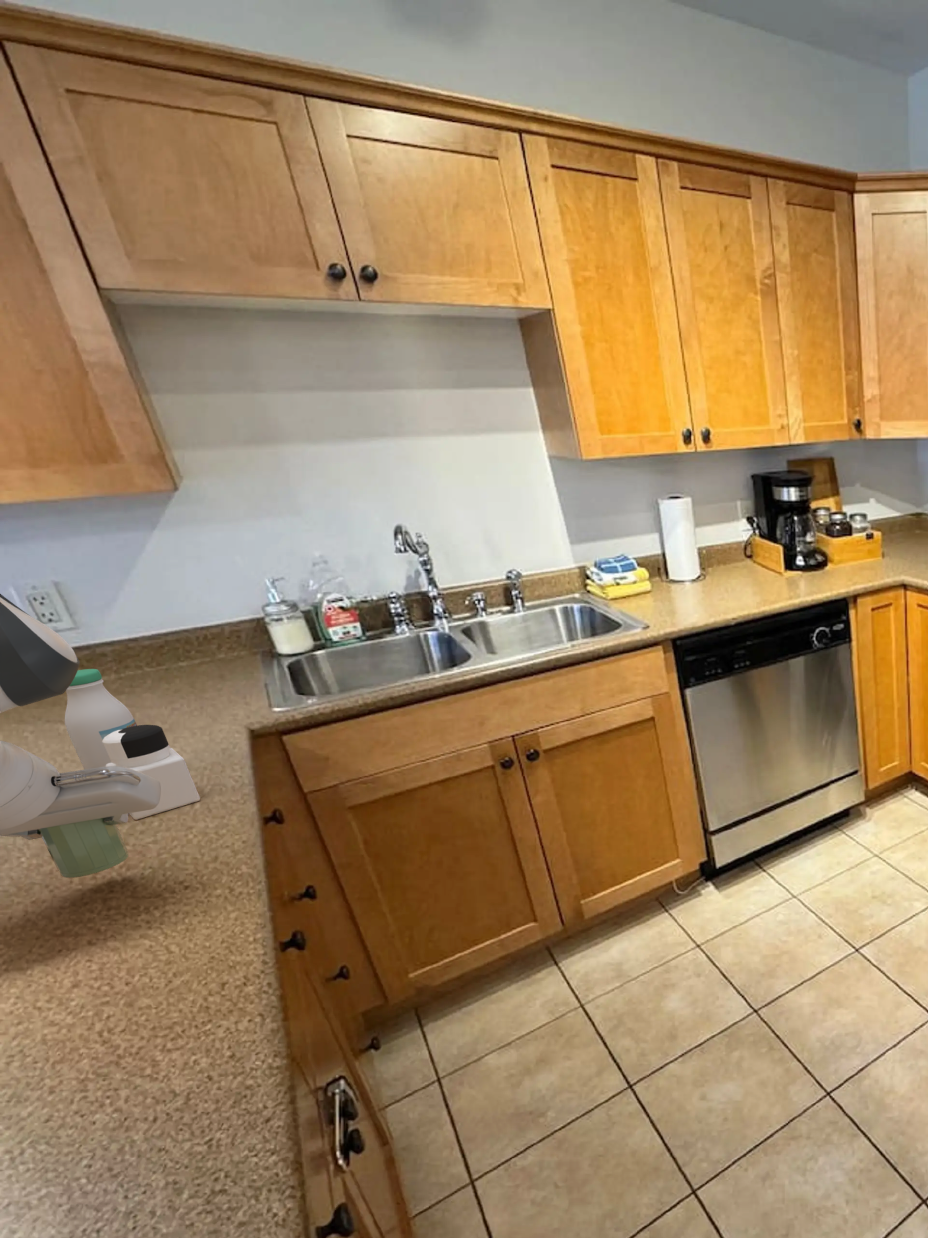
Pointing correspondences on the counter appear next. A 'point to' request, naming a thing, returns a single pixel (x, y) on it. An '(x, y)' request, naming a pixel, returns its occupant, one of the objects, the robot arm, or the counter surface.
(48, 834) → the cup
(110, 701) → the milk bottle
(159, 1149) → the counter surface
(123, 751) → the container
